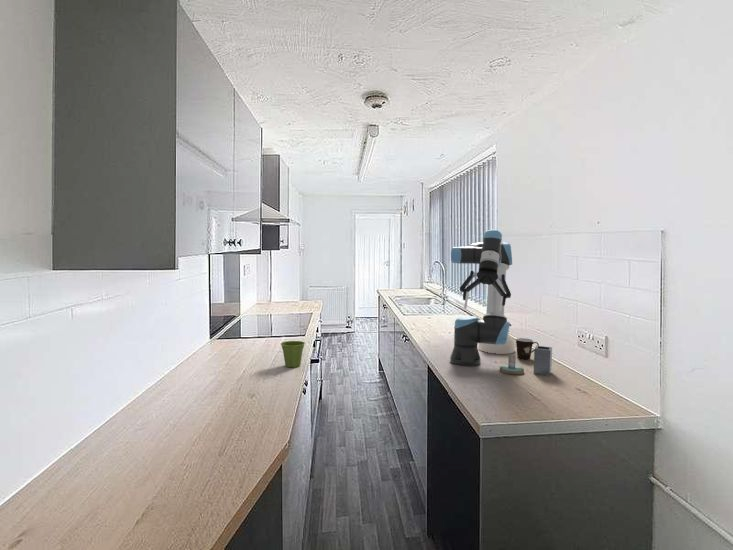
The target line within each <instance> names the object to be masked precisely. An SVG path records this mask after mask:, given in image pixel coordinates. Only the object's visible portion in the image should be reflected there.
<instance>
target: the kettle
mask: <svg viewBox="0 0 733 550" xmlns="http://www.w3.org/2000/svg"><path fill="white" fill-rule="evenodd" d="M509 327H512V324H511V323H510V326H509ZM515 347H516V346H515V342H514V339H513V338H512V337H511V336H510V334H508V338H507V342H506V343H505V344H504V345H495V344H484V343H478V348H479V349H478V351H479V350H480V351H481V352H483V351H484V353H487V352H488V354H494V353H496V354H495V355H508V354H509V353H510V354H514V353H515V352H516V350H515ZM510 354H509V355H510Z"/></svg>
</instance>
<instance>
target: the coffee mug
mask: <svg viewBox="0 0 733 550" xmlns="http://www.w3.org/2000/svg"><path fill="white" fill-rule="evenodd" d="M534 344H536V346H540V345H539V343H538V342H537V341H534V339H531V338H525V337H518V338H516V339H515V345H516V346H515V347H516V356H517V357H516V358H517V359H518V358H519V359H518V360H521V359H524V360H523V361H529V360H528V359H530V360H531V355H532V353H534V349H533V345H534Z"/></svg>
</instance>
